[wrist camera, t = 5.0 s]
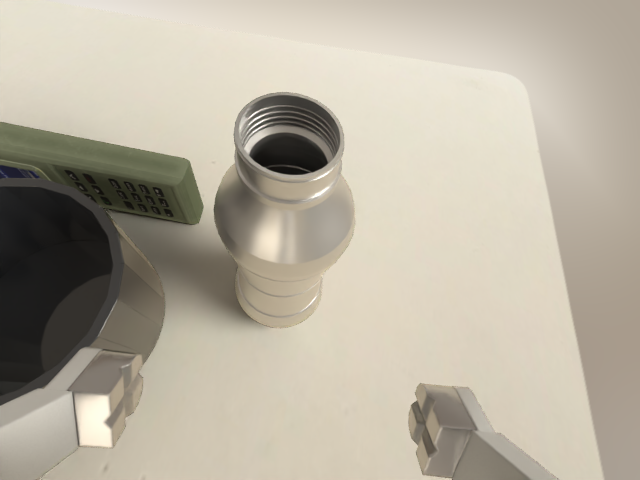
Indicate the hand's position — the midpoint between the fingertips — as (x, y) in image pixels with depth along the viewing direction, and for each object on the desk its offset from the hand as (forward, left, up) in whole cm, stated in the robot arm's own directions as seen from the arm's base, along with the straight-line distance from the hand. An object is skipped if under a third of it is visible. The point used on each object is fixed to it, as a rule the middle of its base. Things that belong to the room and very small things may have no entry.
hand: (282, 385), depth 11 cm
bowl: (+6, +15, -18) cm, 24 cm away
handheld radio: (+18, +19, -18) cm, 31 cm away
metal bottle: (+8, 0, -18) cm, 20 cm away
